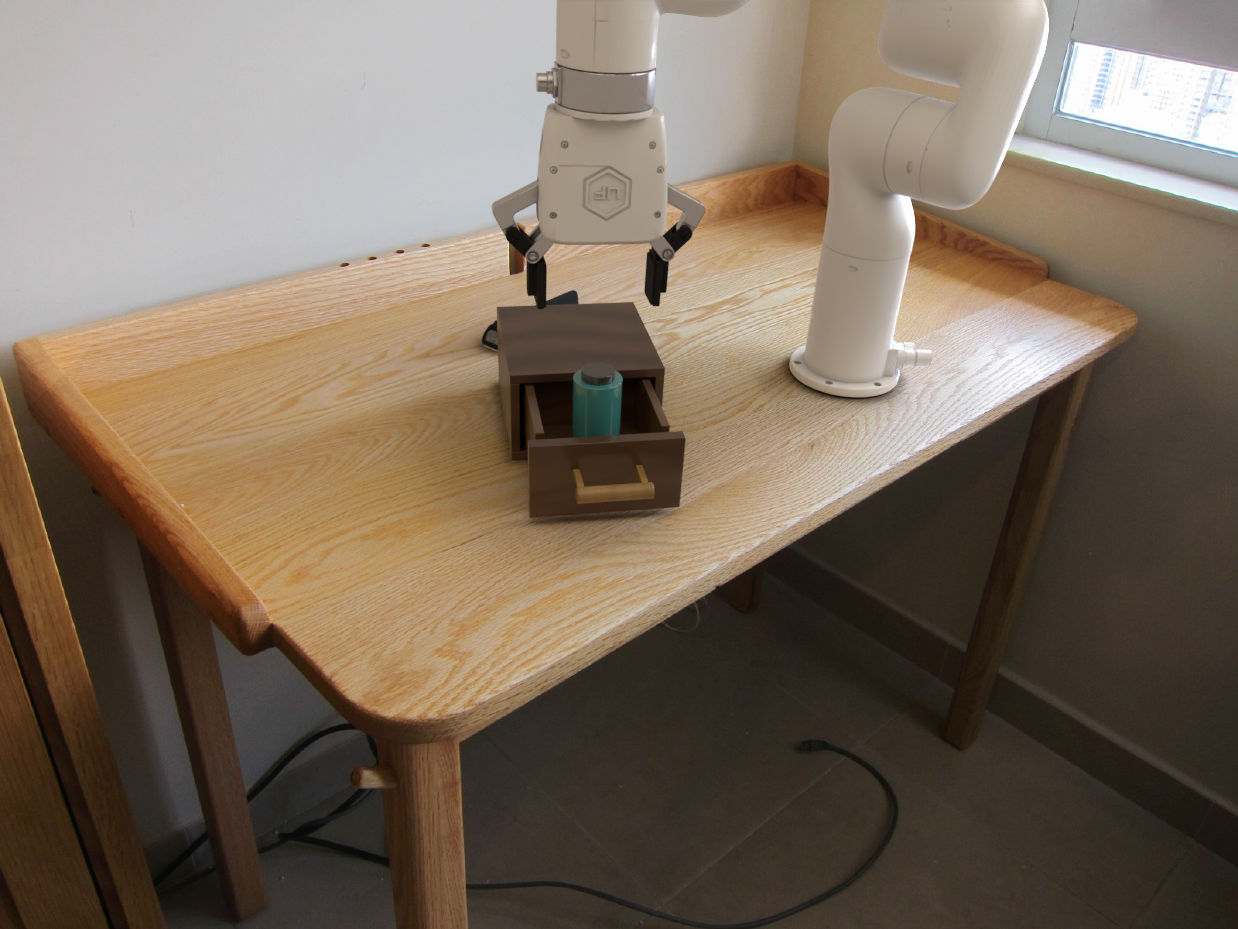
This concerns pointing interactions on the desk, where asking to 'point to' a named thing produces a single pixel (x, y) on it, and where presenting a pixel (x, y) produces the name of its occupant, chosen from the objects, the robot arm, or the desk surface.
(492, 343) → the electric trimmer
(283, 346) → the desk surface
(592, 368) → the bottle
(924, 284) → the desk surface
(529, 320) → the cabinet
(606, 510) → the drawer
